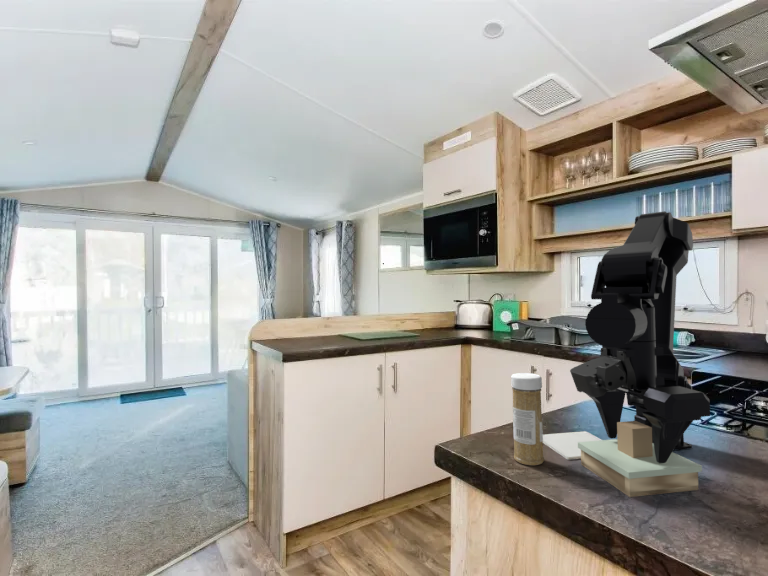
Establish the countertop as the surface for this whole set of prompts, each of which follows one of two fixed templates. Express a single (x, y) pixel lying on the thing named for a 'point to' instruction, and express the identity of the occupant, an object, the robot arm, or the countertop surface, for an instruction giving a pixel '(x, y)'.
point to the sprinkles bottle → (527, 418)
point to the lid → (636, 453)
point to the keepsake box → (641, 480)
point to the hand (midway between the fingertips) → (634, 449)
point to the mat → (568, 443)
